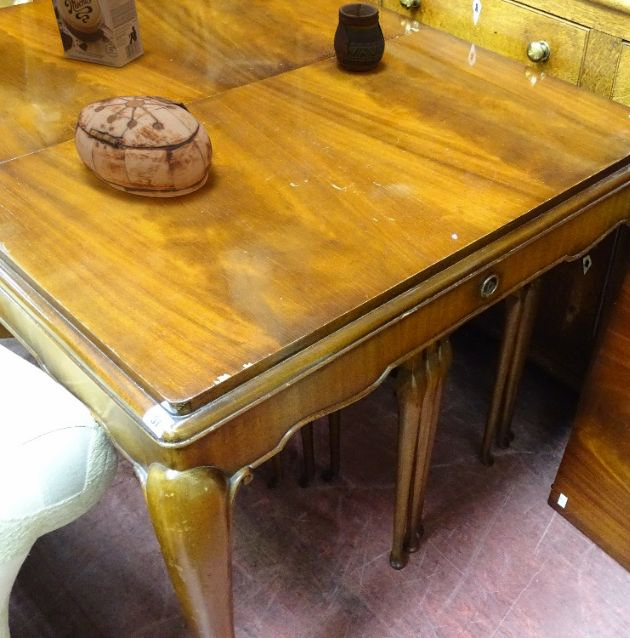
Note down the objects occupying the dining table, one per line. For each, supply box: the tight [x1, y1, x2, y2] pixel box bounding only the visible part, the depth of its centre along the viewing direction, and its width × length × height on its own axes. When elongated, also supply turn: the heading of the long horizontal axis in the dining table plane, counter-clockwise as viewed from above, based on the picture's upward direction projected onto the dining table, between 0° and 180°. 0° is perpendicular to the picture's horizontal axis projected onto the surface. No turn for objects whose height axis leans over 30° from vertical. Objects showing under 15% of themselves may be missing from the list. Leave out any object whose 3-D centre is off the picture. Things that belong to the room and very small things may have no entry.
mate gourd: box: [333, 2, 386, 72], centre depth 108 cm, size 7×8×10 cm
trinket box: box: [74, 95, 213, 198], centre depth 83 cm, size 13×15×8 cm
